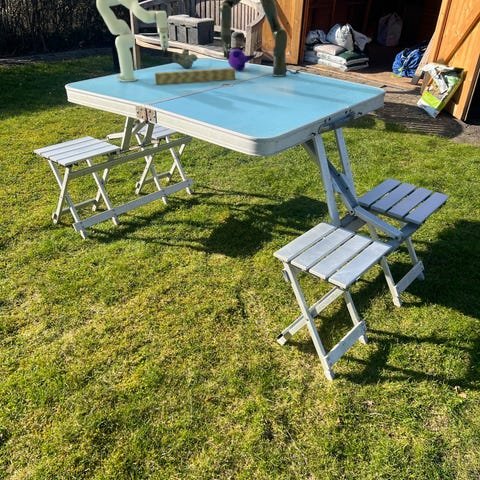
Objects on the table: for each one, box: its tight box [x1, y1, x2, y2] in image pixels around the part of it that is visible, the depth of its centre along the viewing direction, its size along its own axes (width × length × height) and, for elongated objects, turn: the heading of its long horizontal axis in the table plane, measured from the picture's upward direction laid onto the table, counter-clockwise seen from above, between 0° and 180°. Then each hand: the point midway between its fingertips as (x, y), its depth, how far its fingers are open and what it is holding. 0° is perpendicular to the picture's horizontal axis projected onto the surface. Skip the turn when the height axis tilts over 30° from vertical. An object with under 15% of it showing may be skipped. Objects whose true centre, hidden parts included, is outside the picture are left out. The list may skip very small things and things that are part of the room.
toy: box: [227, 48, 258, 72], centre depth 368 cm, size 16×18×27 cm
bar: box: [154, 67, 236, 86], centre depth 333 cm, size 59×5×8 cm, turn 105°
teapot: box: [172, 48, 198, 69], centre depth 382 cm, size 21×12×15 cm, turn 109°
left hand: (165, 56), depth 326 cm, fingers open, 9 cm apart
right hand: (226, 58), depth 332 cm, fingers open, 8 cm apart
